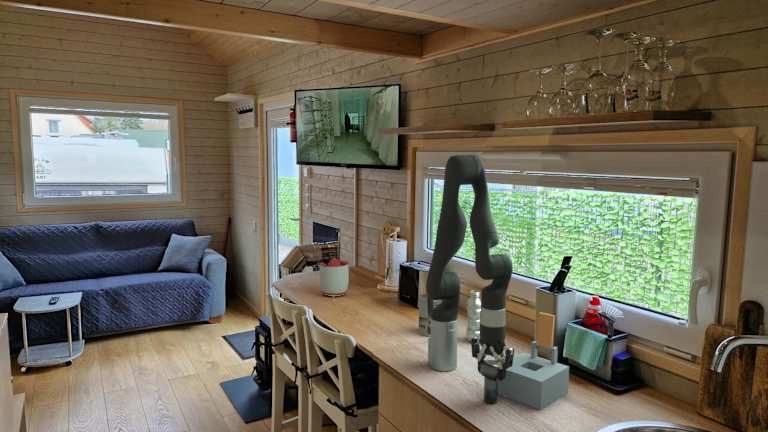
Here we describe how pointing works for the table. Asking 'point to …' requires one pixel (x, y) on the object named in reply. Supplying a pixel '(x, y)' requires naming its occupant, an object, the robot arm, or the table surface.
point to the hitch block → (535, 379)
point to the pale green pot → (334, 277)
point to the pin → (490, 380)
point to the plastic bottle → (473, 315)
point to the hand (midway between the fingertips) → (491, 376)
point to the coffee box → (426, 313)
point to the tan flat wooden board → (545, 332)
